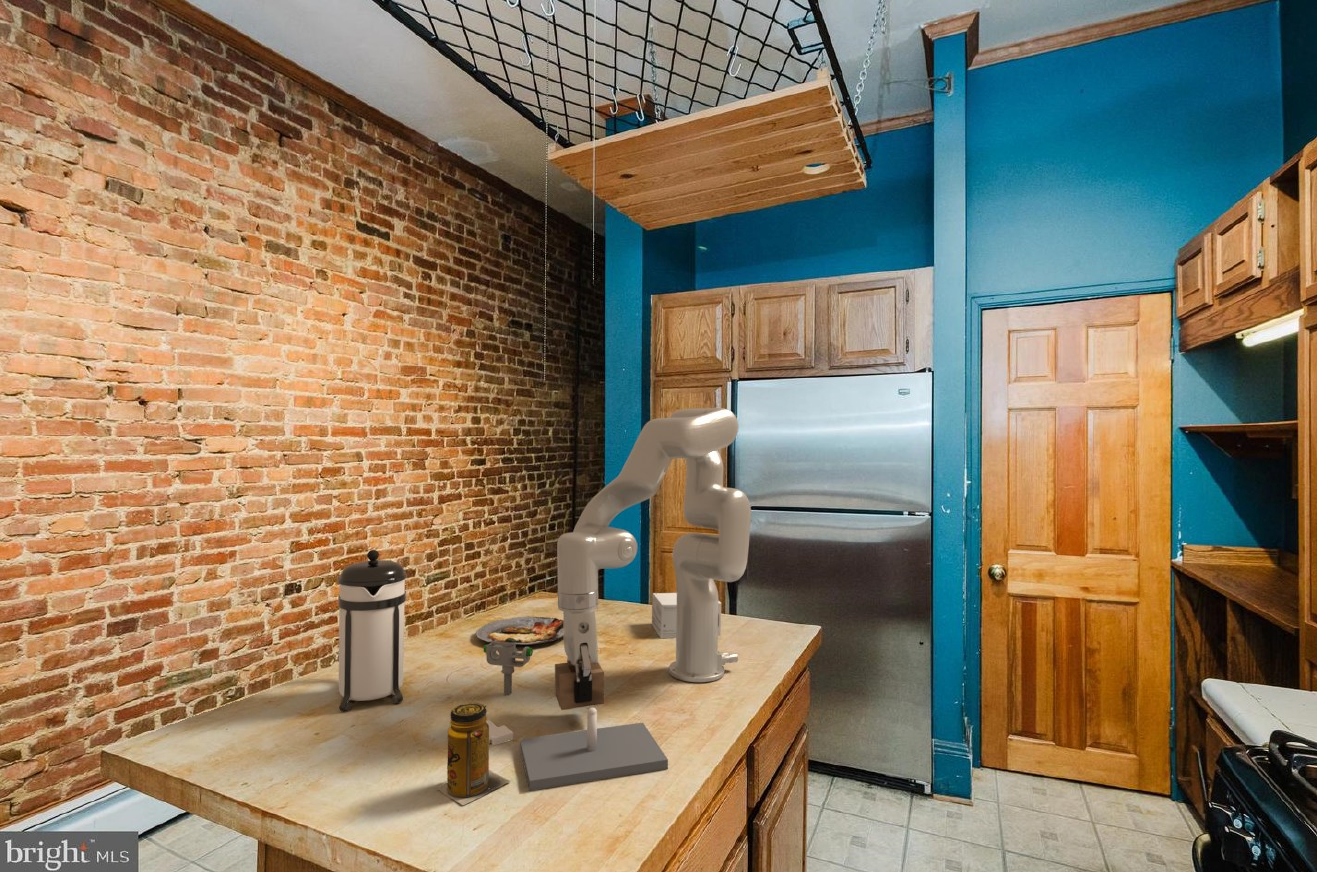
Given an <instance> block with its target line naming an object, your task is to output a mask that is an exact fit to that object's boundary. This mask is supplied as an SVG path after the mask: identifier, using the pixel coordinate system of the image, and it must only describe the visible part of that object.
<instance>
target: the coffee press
mask: <svg viewBox="0 0 1317 872" xmlns="http://www.w3.org/2000/svg"><path fill="white" fill-rule="evenodd" d="M366 557H367V559H368V560H365V561H364V560H363V561H359V562H355V563H352V564H349V565H347V566H346V567H345V568H343V569H342V571H341V573H340V575H339V576H338V577H337V584H338V585H339V595H338V598H337V599H338V601H337V602H338V603H337V604H338V605H337V606H338V608H339V609H338V610H339V616H338V618H339V621H338V623H339V624H338V633H339V635H338V692H339V694H340V696H342V700H341V702H340V704H339V709H338V710H339V711H341V712H345V713H346V712H349V711H350V710H351V708H352V707H353V705H354V703H355V702H360V701H362V702H364V701H365V702H366V701H373V700H379V699H382V698H389V700H390V701H391V702H392V703H393V704H394V705H398V704H399V703H401V702H403V701H404V697H403V694H402V692H401V690H400V689H401V687H402V685H403V684H404V667H405V666H404V663H405V662H404V660H405V659H404V657H405V656H404V655H405V652H404V651H405V603H406V600H407V599H406V595H407V594H406V593H407V591H406V590H405V582H406V579H407V577H408V573H407V572H406V571H405V568H404V567H403V565H402V564H400V563H398V562H396V561H392V560H384V559H379V560H378V558H379V557H380V554H379V551H378V550H376V549H371V550H369V551H368V553H367V554H366Z"/></svg>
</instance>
